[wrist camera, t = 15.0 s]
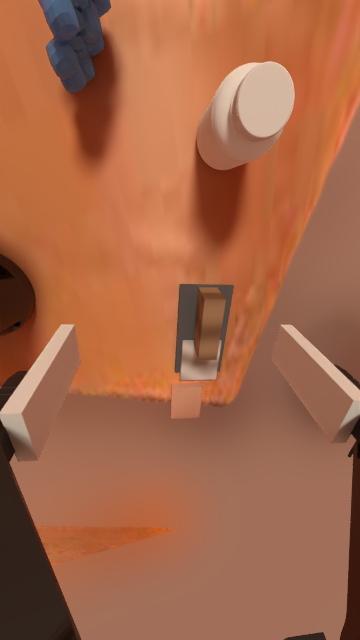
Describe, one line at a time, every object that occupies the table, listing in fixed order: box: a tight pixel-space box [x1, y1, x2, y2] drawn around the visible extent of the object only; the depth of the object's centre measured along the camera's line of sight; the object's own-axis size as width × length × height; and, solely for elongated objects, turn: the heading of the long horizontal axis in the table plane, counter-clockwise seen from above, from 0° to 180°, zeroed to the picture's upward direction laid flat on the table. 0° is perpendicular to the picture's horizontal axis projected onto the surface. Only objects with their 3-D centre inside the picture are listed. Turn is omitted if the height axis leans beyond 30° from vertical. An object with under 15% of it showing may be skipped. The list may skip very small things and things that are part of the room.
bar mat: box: [175, 284, 234, 372], centre depth 49 cm, size 10×20×1 cm, turn 177°
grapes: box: [38, 0, 111, 93], centre depth 23 cm, size 12×7×12 cm, turn 151°
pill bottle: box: [197, 62, 295, 170], centre depth 28 cm, size 8×8×15 cm
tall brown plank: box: [180, 287, 226, 380], centre depth 46 cm, size 22×8×6 cm, turn 177°
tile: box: [170, 383, 203, 419], centre depth 57 cm, size 7×2×10 cm
